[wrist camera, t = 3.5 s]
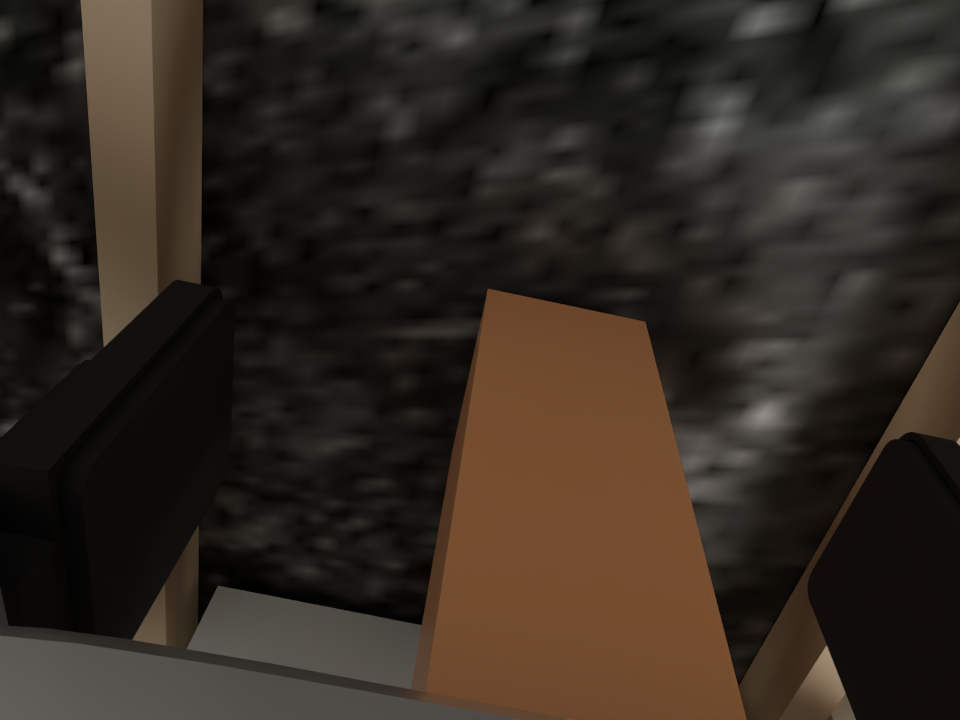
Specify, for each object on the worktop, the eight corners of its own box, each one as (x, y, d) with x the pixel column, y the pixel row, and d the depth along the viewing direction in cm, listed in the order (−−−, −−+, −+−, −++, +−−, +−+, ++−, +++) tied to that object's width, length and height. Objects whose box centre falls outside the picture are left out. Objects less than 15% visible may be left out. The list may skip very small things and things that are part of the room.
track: (122, -653, 7) (29, -781, 6) (1411, -333, 8) (1593, -387, 6) (167, 862, 21) (142, 924, 20) (621, 944, 21) (625, 1010, 20)
